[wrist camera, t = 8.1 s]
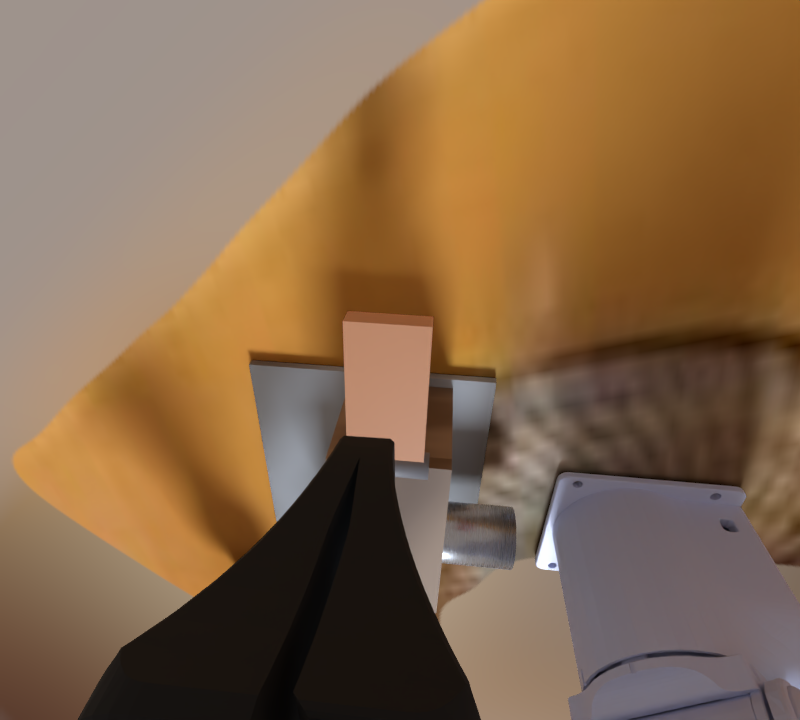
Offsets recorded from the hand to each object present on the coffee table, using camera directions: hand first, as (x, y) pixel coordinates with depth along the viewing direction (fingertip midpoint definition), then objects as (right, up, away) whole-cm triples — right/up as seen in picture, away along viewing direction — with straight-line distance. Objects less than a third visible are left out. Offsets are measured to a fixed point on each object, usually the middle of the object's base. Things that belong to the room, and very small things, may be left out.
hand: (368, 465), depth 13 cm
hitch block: (-1, -3, +14) cm, 15 cm away
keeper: (0, +2, +4) cm, 5 cm away
